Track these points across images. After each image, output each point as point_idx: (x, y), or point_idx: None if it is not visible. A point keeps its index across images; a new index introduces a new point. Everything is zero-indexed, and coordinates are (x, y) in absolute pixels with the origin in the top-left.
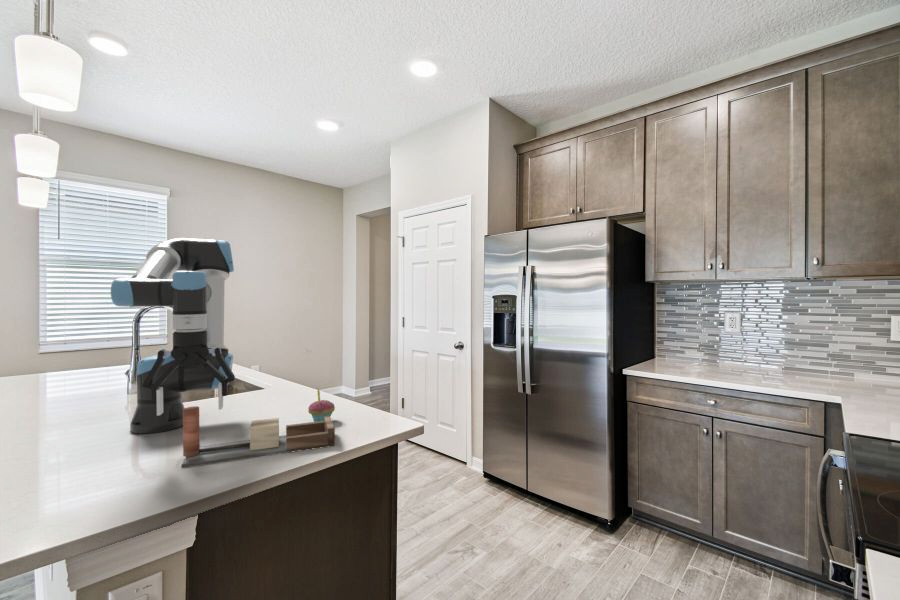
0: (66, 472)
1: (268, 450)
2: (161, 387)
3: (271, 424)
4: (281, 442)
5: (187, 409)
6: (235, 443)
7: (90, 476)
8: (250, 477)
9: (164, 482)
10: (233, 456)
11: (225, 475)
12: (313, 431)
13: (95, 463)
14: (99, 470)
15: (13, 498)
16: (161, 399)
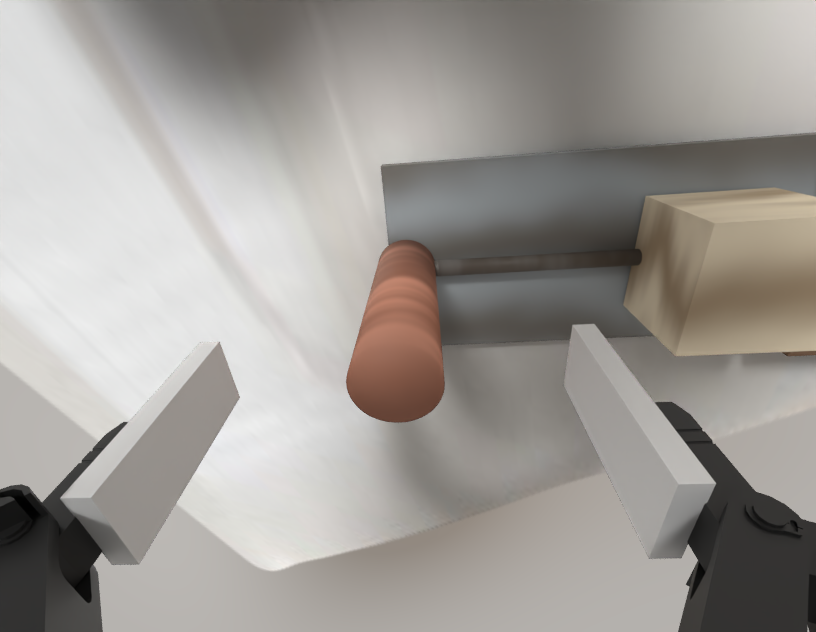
0: (25, 260)
1: None
2: (80, 501)
3: (790, 331)
4: None
5: (380, 404)
6: (570, 181)
7: (142, 319)
8: None
9: None
10: (560, 333)
11: (536, 427)
12: None
13: (55, 198)
14: (131, 278)
15: (54, 396)
16: (180, 448)
